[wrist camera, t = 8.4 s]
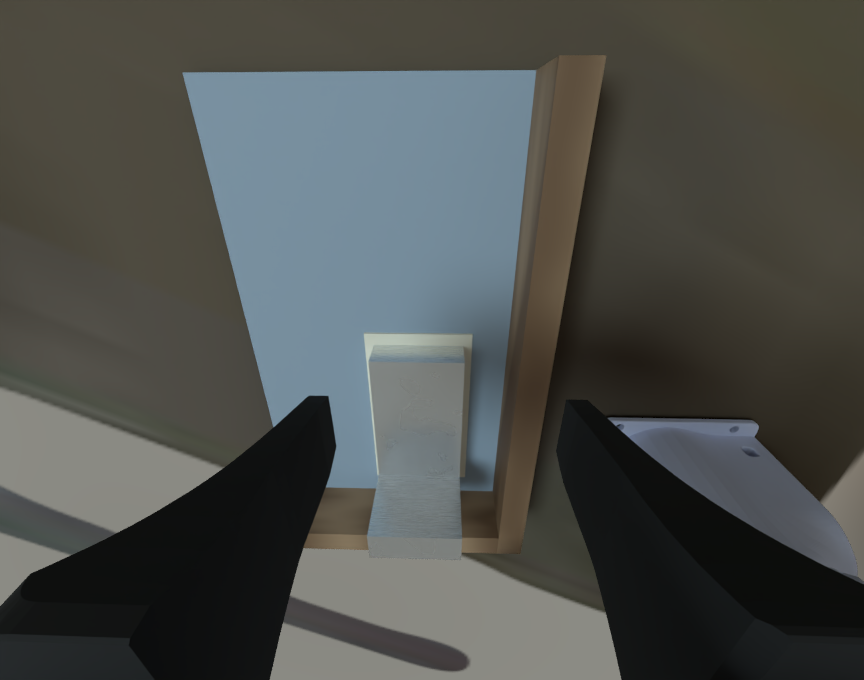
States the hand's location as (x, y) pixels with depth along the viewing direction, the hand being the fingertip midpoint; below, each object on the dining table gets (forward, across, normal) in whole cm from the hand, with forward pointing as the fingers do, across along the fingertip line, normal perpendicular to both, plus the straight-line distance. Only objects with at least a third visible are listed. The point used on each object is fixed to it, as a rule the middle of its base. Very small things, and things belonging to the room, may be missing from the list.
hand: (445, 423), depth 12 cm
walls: (+10, +3, +3) cm, 11 cm away
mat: (+10, +3, +3) cm, 11 cm away
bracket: (+10, +2, +8) cm, 12 cm away
